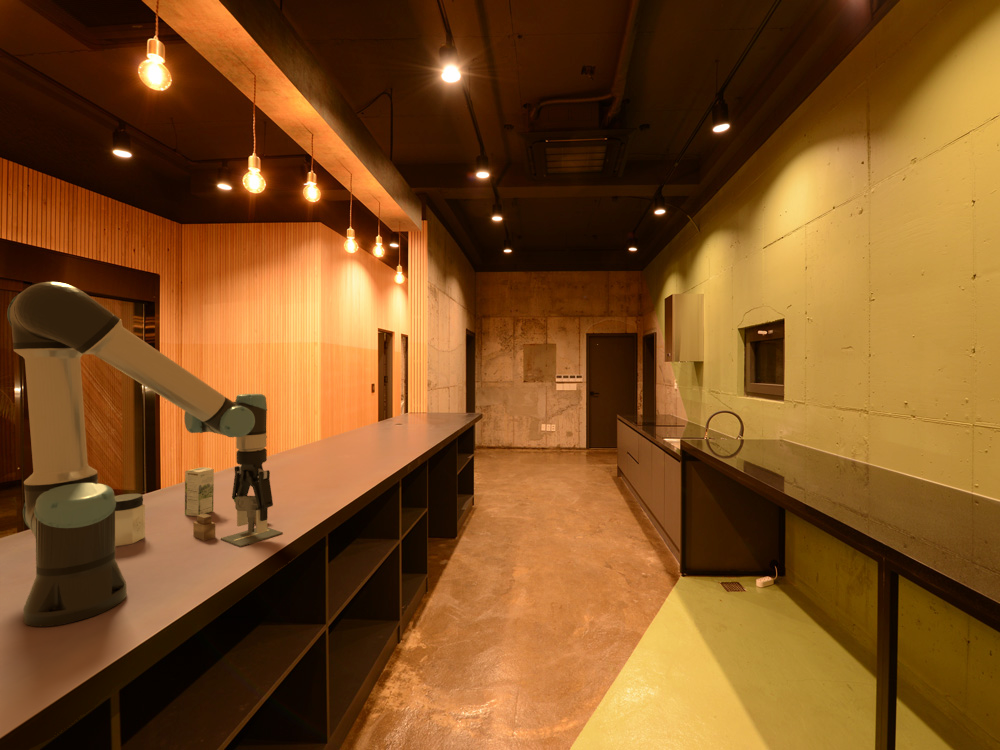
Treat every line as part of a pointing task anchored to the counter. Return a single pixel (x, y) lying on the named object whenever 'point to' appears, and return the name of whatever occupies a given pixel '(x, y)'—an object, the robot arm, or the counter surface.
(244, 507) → the mechanical component
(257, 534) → the mat
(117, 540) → the jar
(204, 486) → the syrup box
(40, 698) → the counter surface
